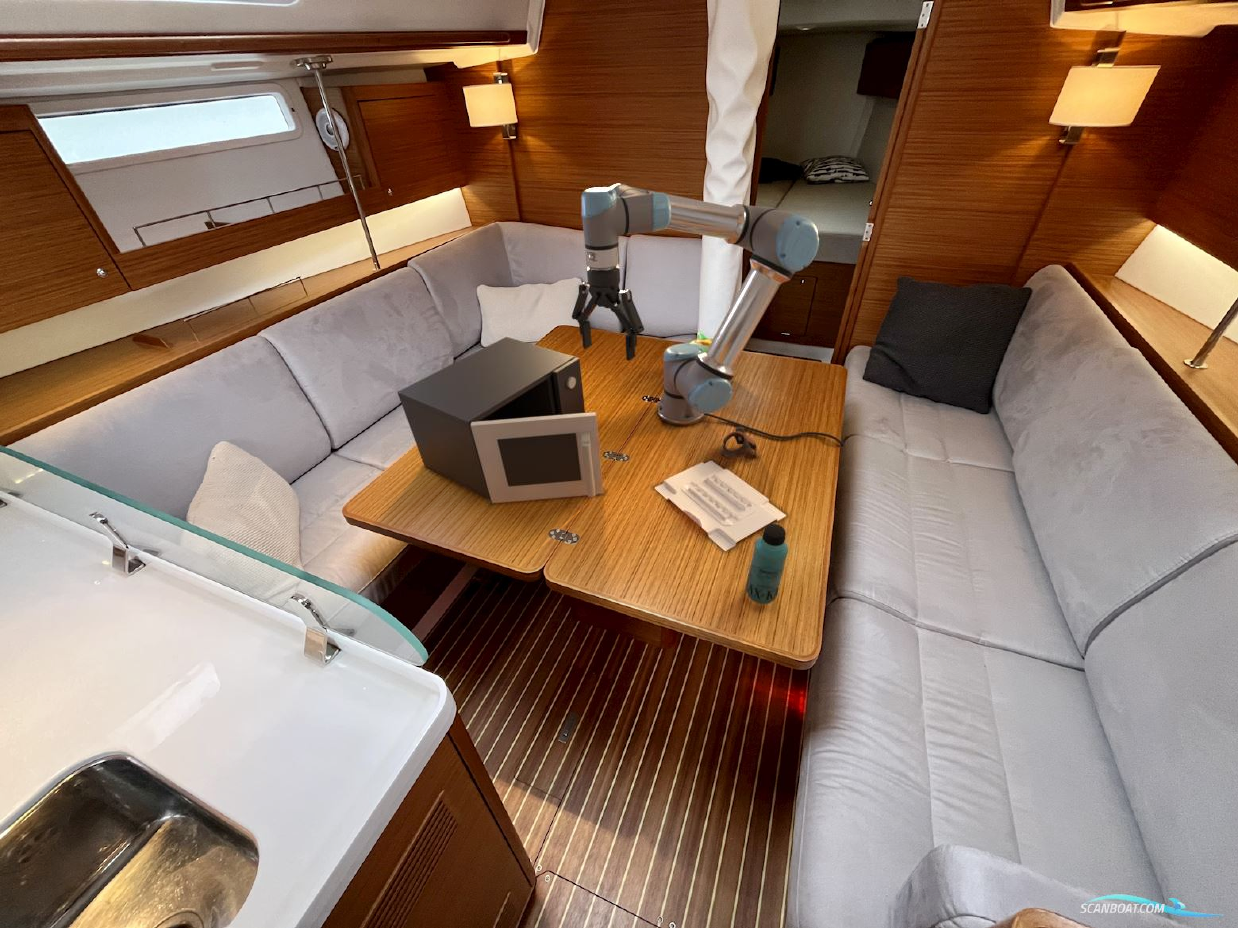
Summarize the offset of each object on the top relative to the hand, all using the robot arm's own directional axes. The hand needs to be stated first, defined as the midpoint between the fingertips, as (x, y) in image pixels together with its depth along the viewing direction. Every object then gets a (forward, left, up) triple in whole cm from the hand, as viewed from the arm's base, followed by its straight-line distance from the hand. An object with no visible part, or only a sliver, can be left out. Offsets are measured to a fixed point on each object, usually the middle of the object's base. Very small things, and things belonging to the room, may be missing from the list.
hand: (608, 352), depth 126 cm
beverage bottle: (-55, +24, -33) cm, 68 cm away
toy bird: (0, -57, -33) cm, 66 cm away
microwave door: (+3, +27, -33) cm, 42 cm away
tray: (-34, +2, -33) cm, 47 cm away
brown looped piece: (-30, -20, -33) cm, 49 cm away
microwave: (+30, +14, -33) cm, 46 cm away
